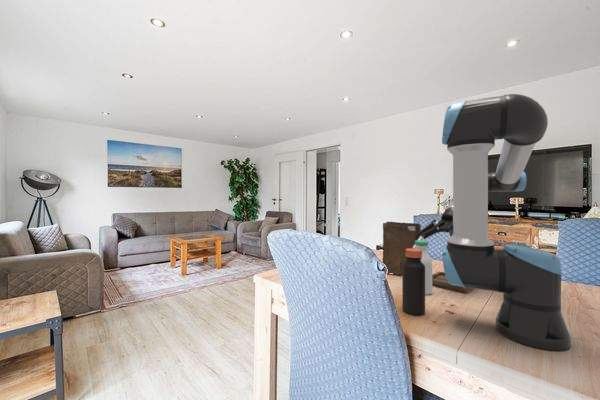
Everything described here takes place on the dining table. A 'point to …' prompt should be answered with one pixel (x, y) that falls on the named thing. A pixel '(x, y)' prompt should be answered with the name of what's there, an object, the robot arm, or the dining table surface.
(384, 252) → the book
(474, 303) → the dining table surface
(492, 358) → the dining table surface
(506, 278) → the robot arm
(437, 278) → the walnut tray
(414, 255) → the vinegar
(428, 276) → the milk bottle
